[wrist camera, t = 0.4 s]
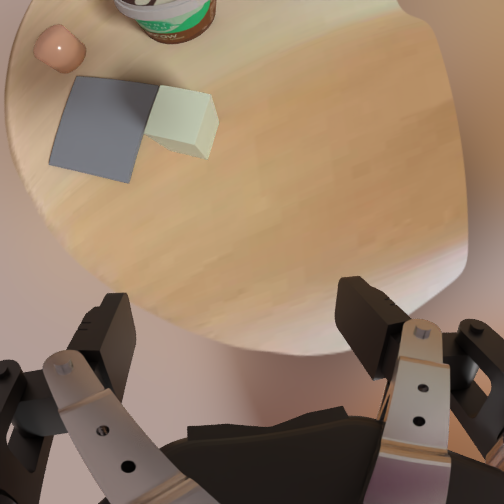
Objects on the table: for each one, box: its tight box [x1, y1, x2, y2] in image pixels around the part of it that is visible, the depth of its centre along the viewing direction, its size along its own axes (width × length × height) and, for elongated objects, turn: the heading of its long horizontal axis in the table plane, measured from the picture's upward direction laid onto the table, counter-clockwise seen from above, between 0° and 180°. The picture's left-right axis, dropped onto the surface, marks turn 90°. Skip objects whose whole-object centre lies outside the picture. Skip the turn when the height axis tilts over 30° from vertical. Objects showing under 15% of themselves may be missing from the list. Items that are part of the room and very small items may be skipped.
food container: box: [114, 0, 216, 44], centre depth 26 cm, size 12×6×10 cm, turn 84°
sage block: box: [144, 85, 219, 160], centre depth 28 cm, size 4×4×10 cm
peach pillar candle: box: [34, 24, 86, 74], centre depth 27 cm, size 5×5×6 cm
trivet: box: [49, 76, 159, 183], centre depth 32 cm, size 12×12×1 cm
